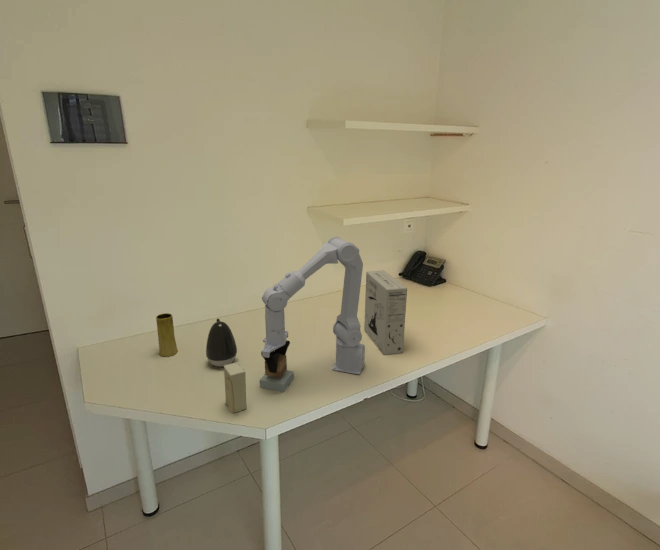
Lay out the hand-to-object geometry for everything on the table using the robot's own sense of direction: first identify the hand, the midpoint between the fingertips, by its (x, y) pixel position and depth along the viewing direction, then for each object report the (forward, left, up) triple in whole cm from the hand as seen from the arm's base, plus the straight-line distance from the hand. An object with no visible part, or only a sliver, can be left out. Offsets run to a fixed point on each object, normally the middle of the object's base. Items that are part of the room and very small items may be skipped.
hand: (276, 367), depth 126 cm
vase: (+45, -5, -6) cm, 46 cm away
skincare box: (+6, +15, -6) cm, 17 cm away
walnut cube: (0, 0, -2) cm, 2 cm away
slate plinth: (0, 0, -6) cm, 6 cm away
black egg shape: (+23, -5, -6) cm, 24 cm away
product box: (-26, -39, -6) cm, 48 cm away
